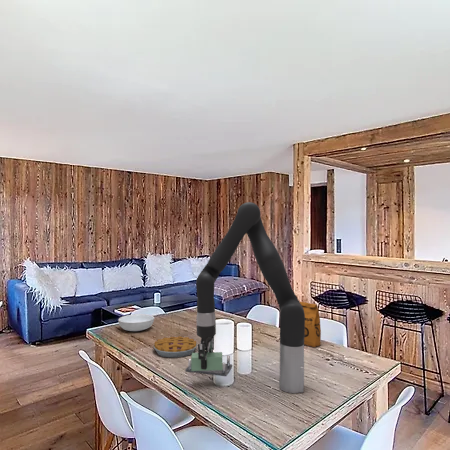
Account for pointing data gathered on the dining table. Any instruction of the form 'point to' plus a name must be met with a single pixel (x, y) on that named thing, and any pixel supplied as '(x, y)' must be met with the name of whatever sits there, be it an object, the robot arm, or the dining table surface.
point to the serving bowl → (136, 322)
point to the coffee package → (311, 325)
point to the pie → (175, 346)
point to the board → (212, 362)
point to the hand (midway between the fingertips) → (206, 365)
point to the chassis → (214, 372)
